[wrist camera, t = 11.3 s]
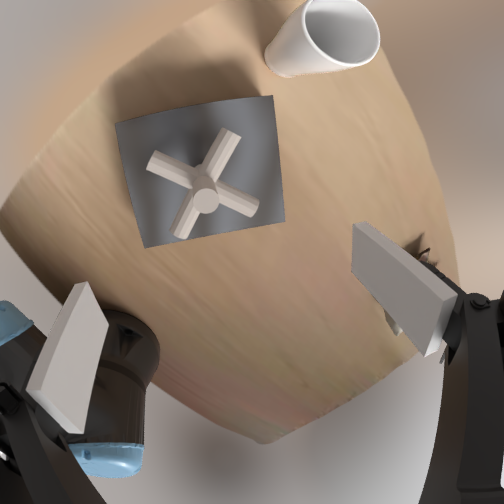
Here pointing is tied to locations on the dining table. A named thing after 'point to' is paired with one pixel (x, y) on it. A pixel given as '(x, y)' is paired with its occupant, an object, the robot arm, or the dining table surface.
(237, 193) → the pipe connector
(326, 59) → the drinking glass
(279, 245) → the dining table surface
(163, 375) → the dining table surface
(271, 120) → the block
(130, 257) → the dining table surface
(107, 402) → the robot arm
